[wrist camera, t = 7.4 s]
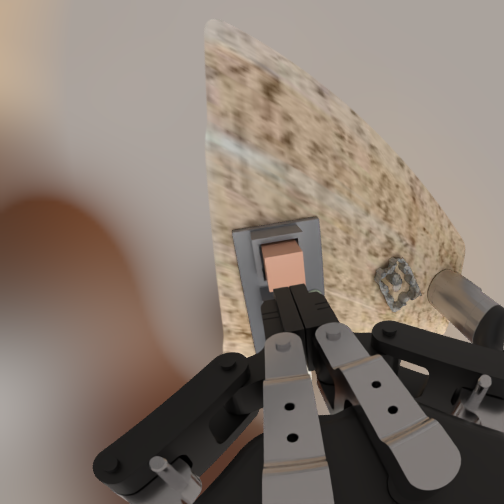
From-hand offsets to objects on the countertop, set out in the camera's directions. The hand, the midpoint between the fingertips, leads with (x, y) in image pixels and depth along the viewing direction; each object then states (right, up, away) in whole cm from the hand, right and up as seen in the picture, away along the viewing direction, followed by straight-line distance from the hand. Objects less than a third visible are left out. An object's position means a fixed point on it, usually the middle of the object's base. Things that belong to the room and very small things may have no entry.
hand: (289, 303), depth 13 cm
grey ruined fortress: (+27, -3, +37) cm, 46 cm away
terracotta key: (+2, +2, +29) cm, 29 cm away
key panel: (+4, -6, +36) cm, 37 cm away
